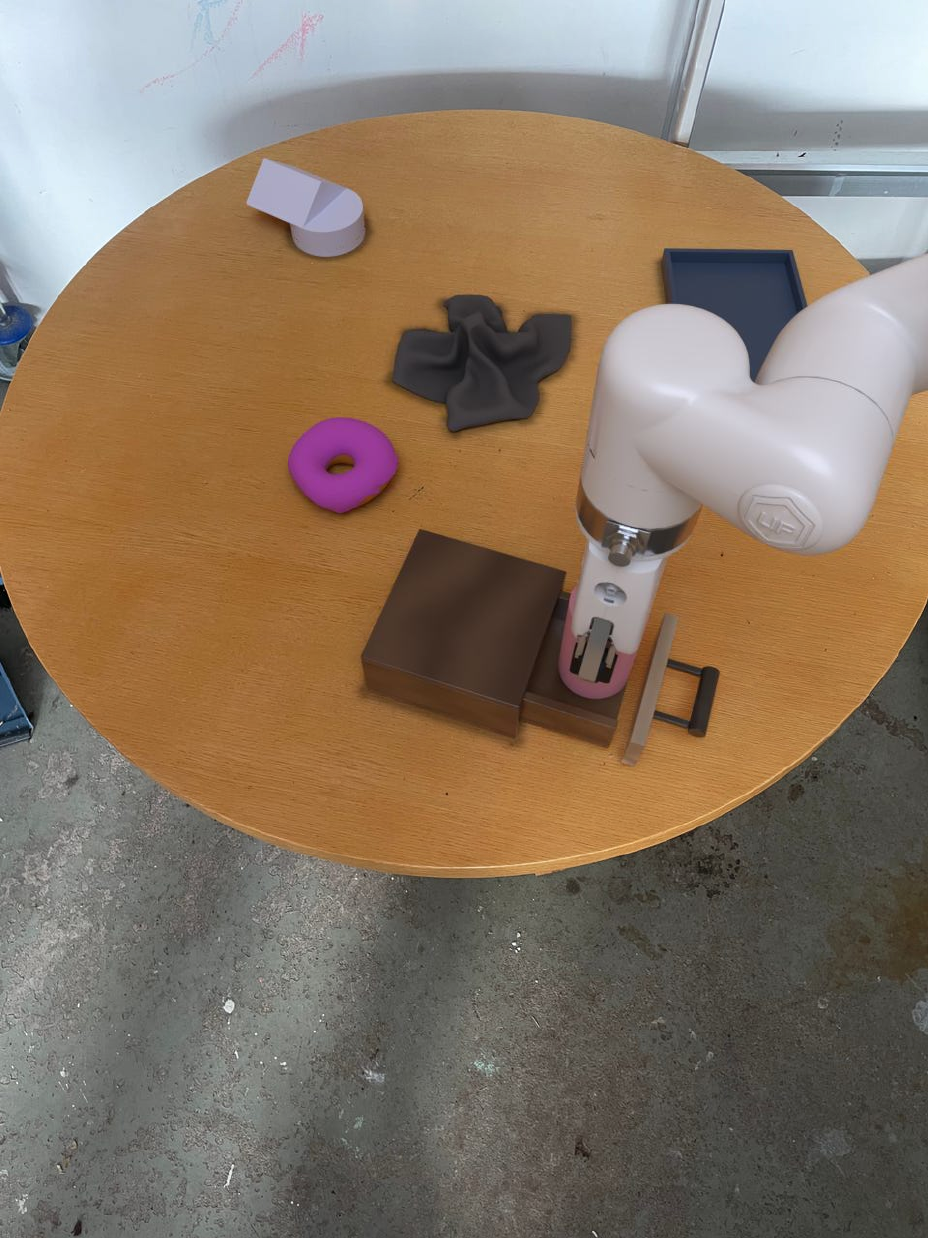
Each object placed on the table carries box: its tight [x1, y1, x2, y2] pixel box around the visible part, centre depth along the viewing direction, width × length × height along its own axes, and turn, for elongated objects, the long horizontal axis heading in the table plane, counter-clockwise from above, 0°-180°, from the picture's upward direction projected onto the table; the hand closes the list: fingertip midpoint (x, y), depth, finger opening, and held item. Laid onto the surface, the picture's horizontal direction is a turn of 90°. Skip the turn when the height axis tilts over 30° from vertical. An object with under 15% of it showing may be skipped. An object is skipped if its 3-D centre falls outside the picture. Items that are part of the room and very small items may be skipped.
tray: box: [660, 247, 808, 382], centre depth 96 cm, size 31×15×2 cm, turn 179°
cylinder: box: [558, 583, 651, 699], centre depth 68 cm, size 6×6×10 cm
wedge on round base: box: [245, 157, 366, 258], centre depth 104 cm, size 9×7×13 cm
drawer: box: [519, 590, 721, 768], centre depth 73 cm, size 17×12×5 cm
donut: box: [287, 416, 400, 514], centre depth 86 cm, size 10×10×5 cm
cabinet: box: [360, 528, 567, 740], centre depth 75 cm, size 14×14×7 cm
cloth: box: [390, 293, 572, 432], centre depth 94 cm, size 22×19×6 cm
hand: (601, 638), depth 68 cm, fingers closed on cylinder, 6 cm apart
